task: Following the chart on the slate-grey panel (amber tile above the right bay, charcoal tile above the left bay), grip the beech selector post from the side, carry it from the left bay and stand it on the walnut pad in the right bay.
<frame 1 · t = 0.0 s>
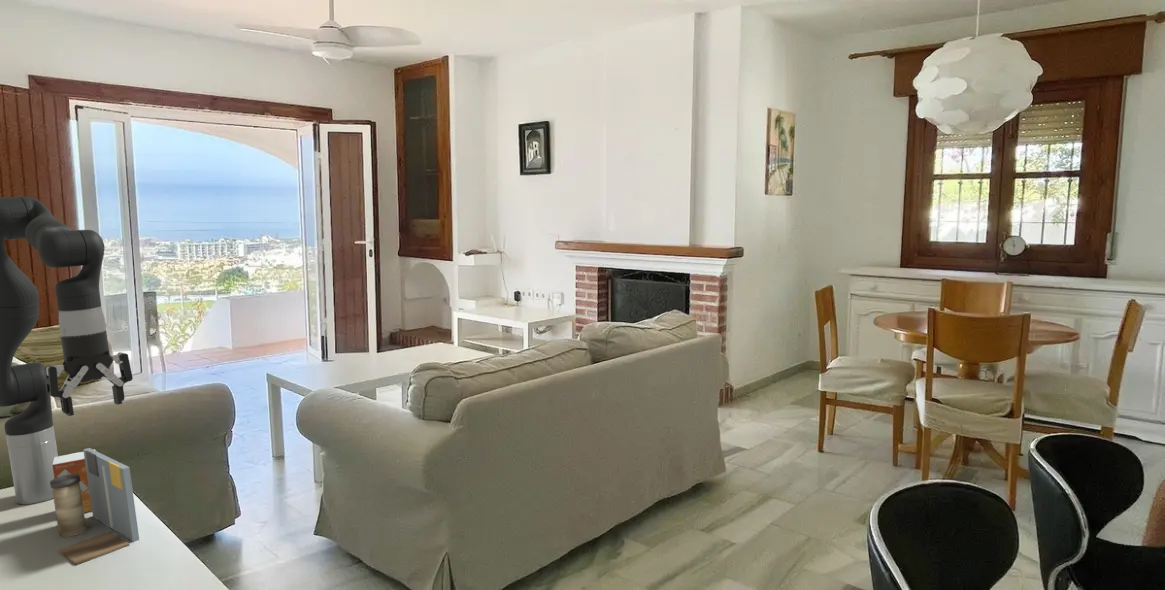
hand: (94, 409, 143), 29 cm above the table, tool pointing down, fingers open, 8 cm apart
selector post: (72, 531, 154), on the table
small box: (81, 510, 165), on the table
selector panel: (115, 527, 155), on the table
walnut pad: (94, 548, 146), on the table
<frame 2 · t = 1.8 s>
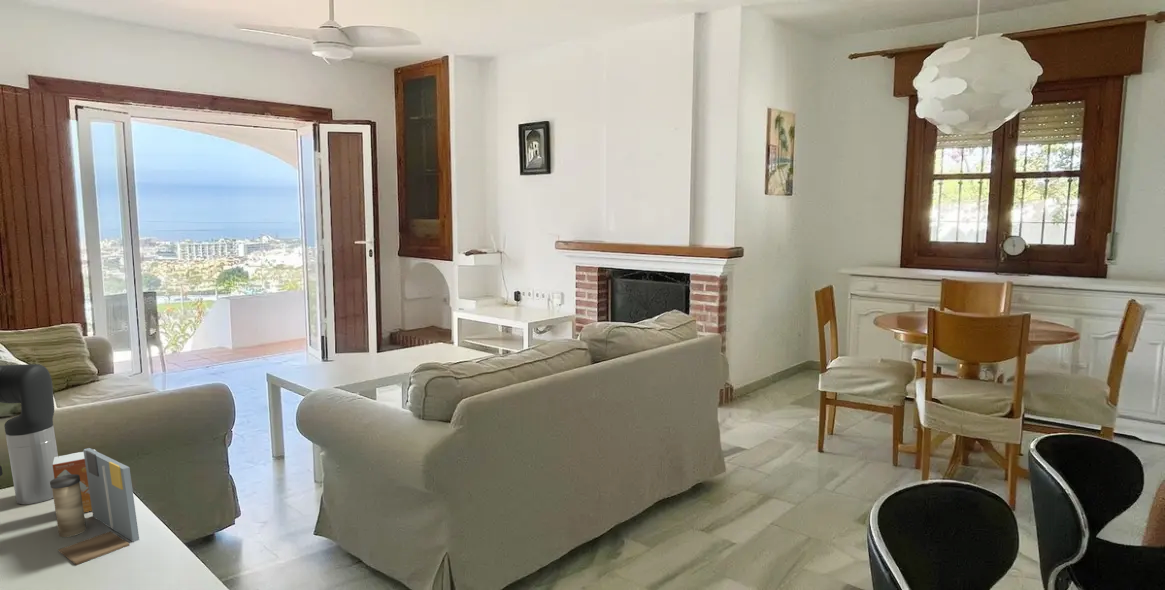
nothing on the table moved.
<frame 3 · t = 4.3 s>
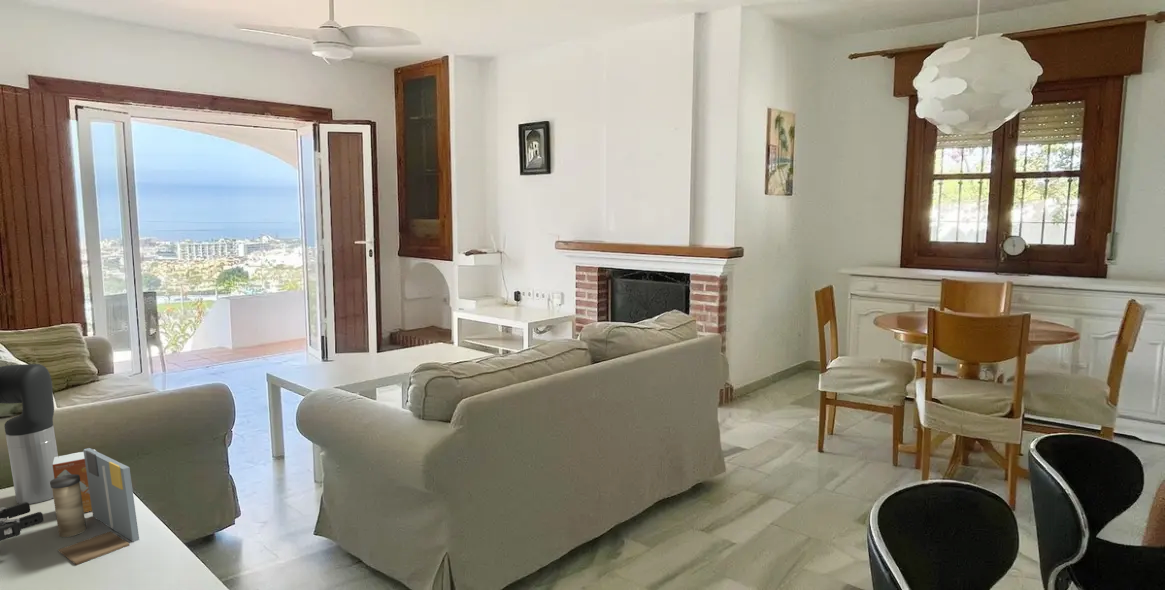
hand: (35, 511, 148), 7 cm above the table, tool horizontal, fingers open, 8 cm apart
nothing on the table moved.
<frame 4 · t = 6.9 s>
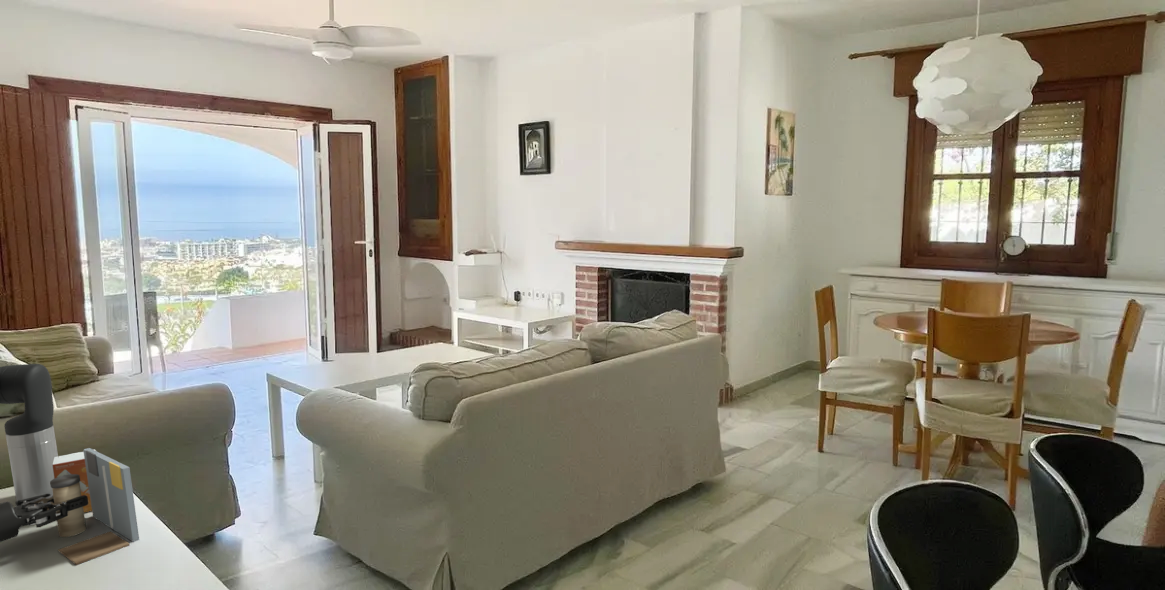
hand: (82, 496, 155), 7 cm above the table, tool horizontal, fingers closed on selector post, 4 cm apart
selector post: (72, 531, 154), on the table, touching gripper
everything else where it was.
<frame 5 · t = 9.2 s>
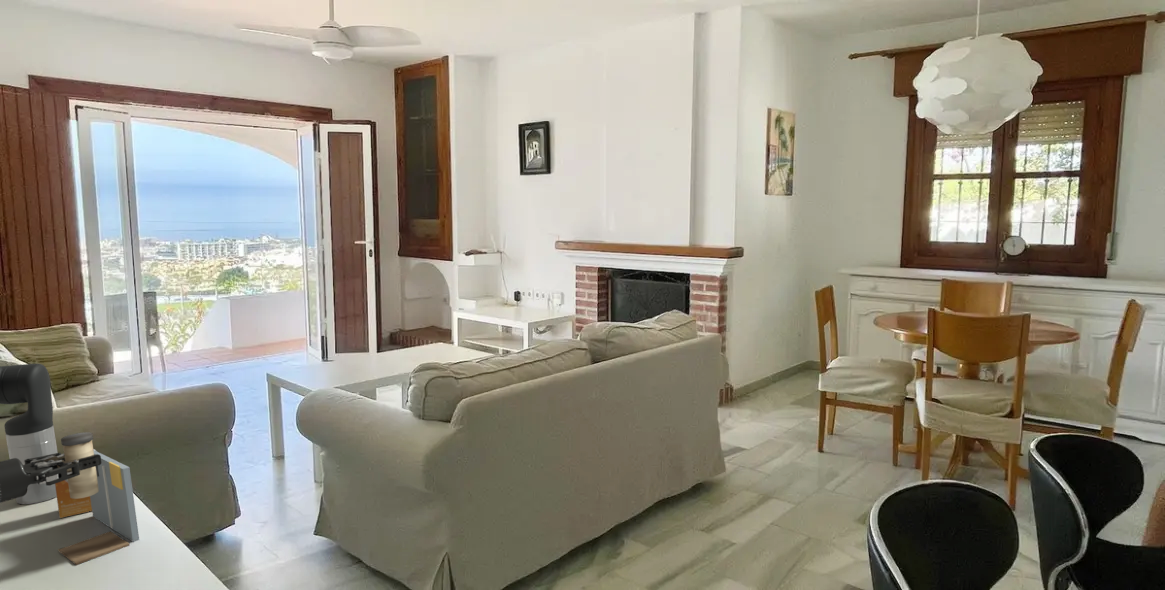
hand: (95, 456, 145), 19 cm above the table, tool horizontal, fingers closed on selector post, 4 cm apart
selector post: (84, 493, 144), point 12 cm above the table, touching gripper
everything else where it was.
when the fingers open (9 cm above the table, at t = 12.0 s): selector post drops 1 cm, resting on walnut pad.
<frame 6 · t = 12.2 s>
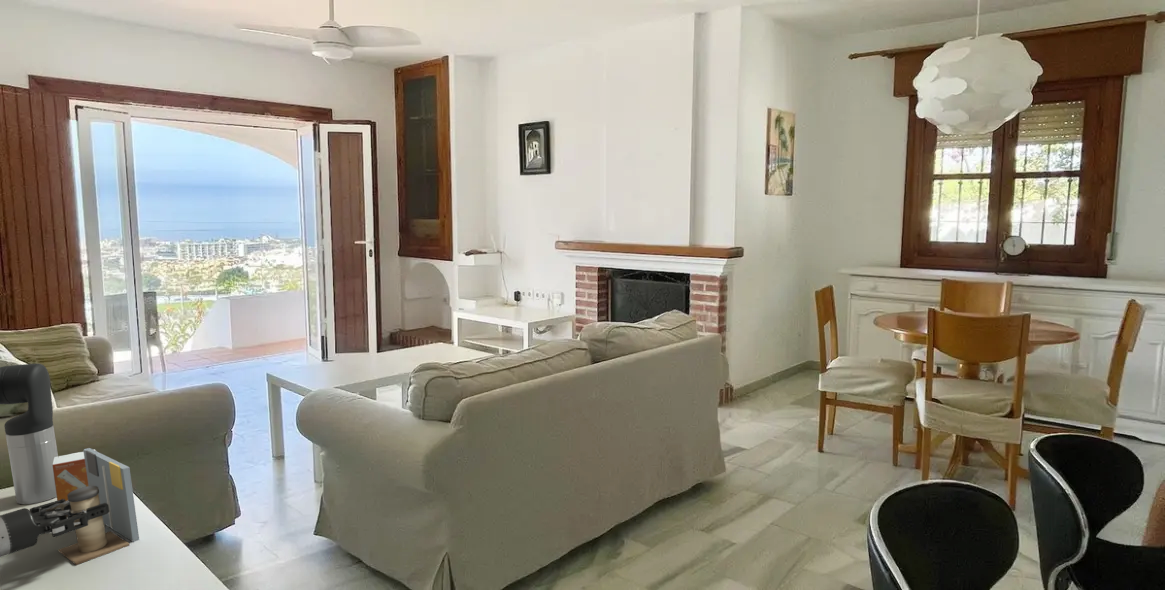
hand: (100, 503, 146), 9 cm above the table, tool horizontal, fingers open, 6 cm apart
selector post: (93, 546, 146), resting on walnut pad
everything else where it was.
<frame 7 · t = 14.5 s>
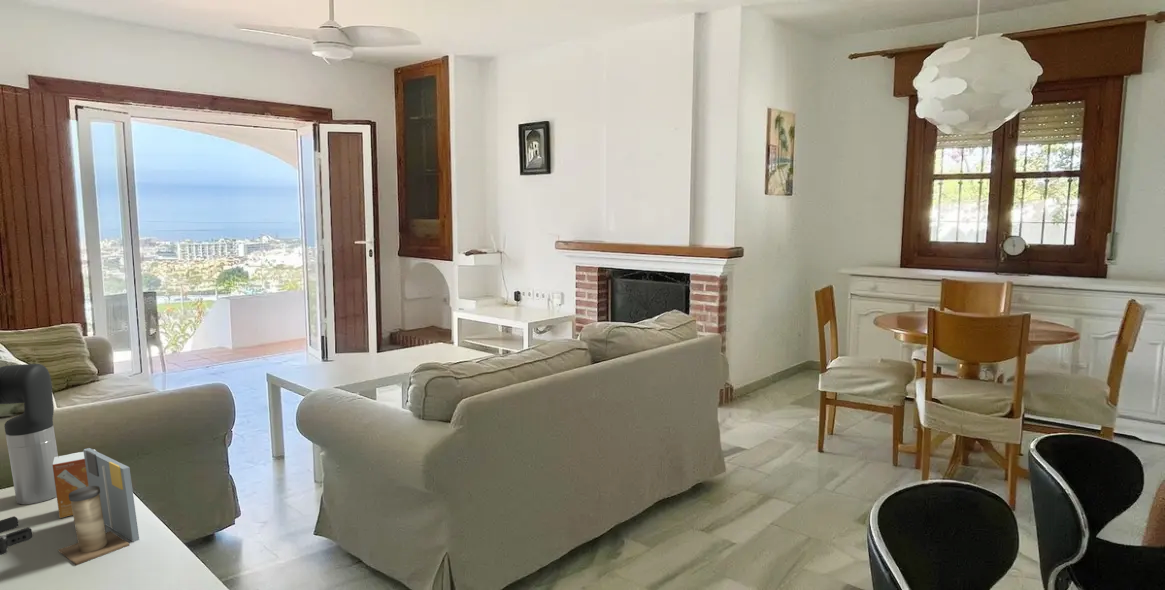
hand: (24, 526, 136), 9 cm above the table, tool horizontal, fingers open, 8 cm apart
nothing on the table moved.
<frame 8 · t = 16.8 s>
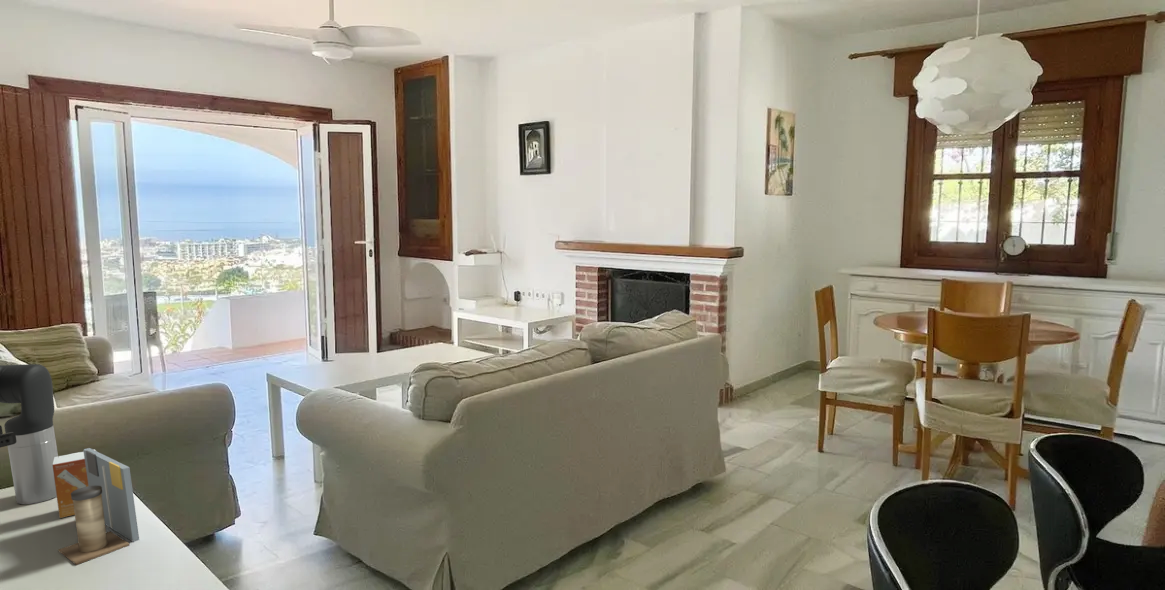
hand: (8, 433, 133), 28 cm above the table, tool horizontal, fingers open, 8 cm apart
nothing on the table moved.
at the end: selector post inside the target area (0.3 cm from its centre), resting on walnut pad; selector post tilted 1°; the gripper is holding nothing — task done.
